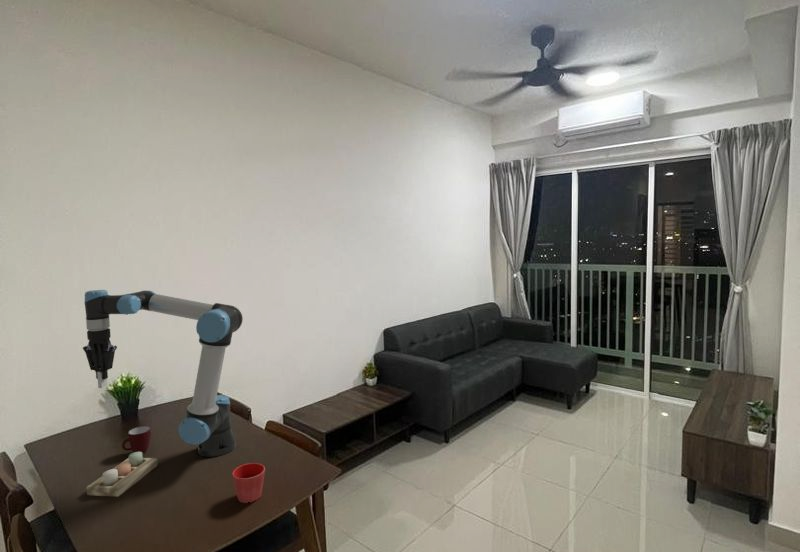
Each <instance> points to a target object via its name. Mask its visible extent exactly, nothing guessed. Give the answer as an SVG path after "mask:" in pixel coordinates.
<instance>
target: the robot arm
mask: <svg viewBox="0 0 800 552" xmlns="http://www.w3.org/2000/svg"><path fill="white" fill-rule="evenodd" d="M84 309H85V316H86V317H85V322H86V323H85V324H86V337H87V340H88V342H87V343H88V344H87V345H84V346H83V347H82V350H83V351H84V353H85V356H86V359H87V361H88V365H89V370H91V371H94V372H95V379H96V380H97V386H98V388H97V389H103V388H105V387H108V381H107V379H108V377H109V376H108V375H109V374H108V372H109V371H108V370H111V369H113V365H114V359H115V352H116V350H117V349H118V347H117V345H113V344H112V343H111V340H110V338H111V329H110V326H111V325H110V322H111V321H110V315H135V314H137V313H138V312H139V311H143V310H144V311H148V312H152V313H153V312H154V313H158V314H160V313H161V314H165V315H168V316H169V315H170V316H174V317H179V318H184V319H189V320H194V321H196V329H195V330H196V333H197V334H198V343H200V345H201V352H200V356H199V364H198V368H197V373H196V380H195V386H194V390H193V391H194V392H193V396H192V402H191V403H190V404H188V405H187V408H186V411H185V412H186V413H185V418H184V419H183V420H181V422H180V423H179V425H178V434H179V437H180V438H181V439H182V440H183V441H184V442H185V443H186V444H188V445H194V446H195V445H198V447H197V450H198V455H200V456H202V457H206V458H207V457H219V456H222V455H223V456H224V455H226V454H228V453H230V452H231V451H233V450H234V449H235V448H236V446H237V440H236V438H235V434H234V433H233V430H232V421H231V402H230V398H229V396H227V395H224V394H218V392H219V388H220V387H219V386H220V381H221V374H222V369H223V364H224V363H223V362H224V359H225V354H226V349H227V347H229V346H231V344H232V343H231V342H232V337H233V333H235V332H237V331H238V330H239V329H240V328H241V327H242V323H243V318H244V317H243V314H242V312H241V311H240V309H239V308H238V307H236V306H234V305H232V304H231V305H230V304H224V303H218V302H215V303H213V304H212V303H211V304H210V303H205V302H200V301H195V300H189V299H185V298H179V297H173V296H168V295H163V294H158V293H155V292H154V291H152V290H141V291H136V292H132V293H126V294H118V295H116V294H114V295H109V293H108V290H106V289H95V290H88V291H85V293H84Z"/></svg>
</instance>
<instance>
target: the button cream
mask: <svg viewBox="0 0 800 552" xmlns="http://www.w3.org/2000/svg"><path fill="white" fill-rule="evenodd" d="M102 476H103V484H104V485H109V486H112V485H111V484H113V483H115V482H117V481H118V470H117V469H113V468H112V469H108V470H106V471H103V473H102ZM102 476H101V477H102Z"/></svg>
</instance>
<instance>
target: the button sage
mask: <svg viewBox="0 0 800 552" xmlns="http://www.w3.org/2000/svg"><path fill="white" fill-rule="evenodd" d="M128 458H129V463H130V464H131V466H135V467H136V465H139V464H141V463H142V462H143V458H144V456H143V454H142V452H132V453H129V455H128Z"/></svg>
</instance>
